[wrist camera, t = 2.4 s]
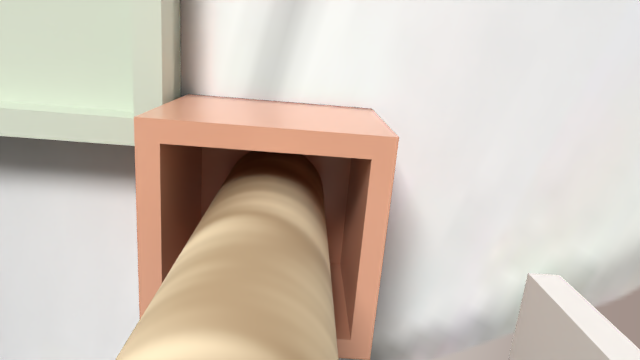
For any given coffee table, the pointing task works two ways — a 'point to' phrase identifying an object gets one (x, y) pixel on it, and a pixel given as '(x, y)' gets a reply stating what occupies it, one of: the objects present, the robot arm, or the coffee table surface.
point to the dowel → (249, 273)
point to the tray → (86, 67)
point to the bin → (270, 136)
